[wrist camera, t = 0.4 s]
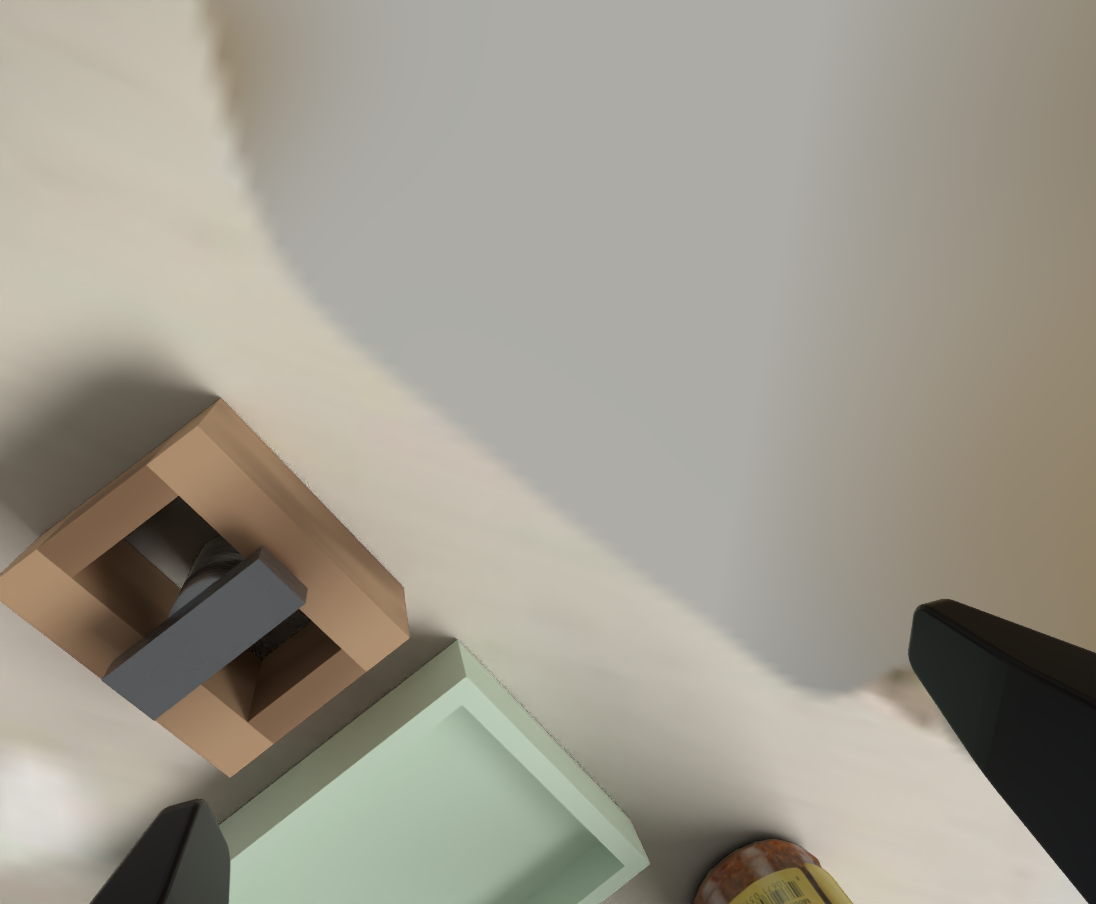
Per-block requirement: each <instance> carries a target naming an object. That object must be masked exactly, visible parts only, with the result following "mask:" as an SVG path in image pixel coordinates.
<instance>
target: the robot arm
mask: <svg viewBox="0 0 1096 904" xmlns="http://www.w3.org/2000/svg"><path fill="white" fill-rule="evenodd" d="M908 656H909V661H910V664H911V666H912V669H913V670H914V672H915V674H916V675H917V677H918V678H919V680H920V681H921V683H922V684H923V686H924V687H925V689H926V690H927V692H928V693H929V695H930V696H931V698H932V699H933V701H934V702H935V704H936V705H937V707H938V708H939V709H940V711H941V712H942V714H943V715H944V717H945V718H946V720H947V721H948V723H949V724H950V726H951V727H952V729H953V730H954V732H955V733H956V735H957V736H958V738H959V739H960V741H961V742H962V744H963V745H964V747H965V748H966V750H967V751H968V753H969V754H970V756H971V757H972V758H973V760H974V761H975V763H976V764H977V765H978V767H979V768H980V770H981V771H982V772H983V774H984V775H985V776H986V778H987V779H988V780H989V782H990V783H991V784H992V785H993V787H994V788H995V789H996V791H997V792H998V793H999V794H1000V795H1001V797H1002V798H1003V799H1004V800H1005V802H1006V803H1007V804H1008V805H1009V807H1010V808H1011V809H1012V810H1013V811H1014V813H1015V814H1016V815H1017V816H1018V818H1019V819H1020V820H1021V821H1022V823H1023V824H1024V825H1025V826H1026V827H1027V829H1028V830H1029V831H1030V832H1031V834H1032V835H1033V836H1034V837H1035V838H1036V840H1037V841H1038V842H1039V843H1040V845H1041V846H1042V847H1043V848H1044V850H1045V851H1046V852H1047V853H1048V854H1049V856H1050V857H1051V858H1052V859H1053V861H1054V862H1055V863H1056V864H1057V866H1058V867H1059V868H1060V869H1061V870H1062V872H1063V873H1064V874H1065V875H1066V877H1067V878H1068V879H1069V880H1070V881H1071V883H1072V884H1073V885H1074V886H1075V888H1076V889H1077V890H1078V891H1079V893H1080V894H1081V895H1082V896H1083V897H1084V899H1085V900H1086V901H1087V902H1088V904H1096V653H1095V652H1092V651H1089V650H1086V649H1084V648H1081V647H1078V646H1076V645H1073V644H1070V643H1068V642H1065V641H1062V640H1059V639H1057V638H1054V637H1051V636H1049V635H1046V634H1043V633H1040V632H1038V631H1035V630H1032V629H1030V628H1027V627H1024V626H1022V625H1019V624H1016V623H1013V622H1011V621H1008V620H1005V619H1003V618H1000V617H997V616H994V615H992V614H989V613H986V612H984V611H981V610H978V609H976V608H973V607H970V606H967V605H965V604H962V603H959V602H956V601H954V600H950V599H940V600H937V601H933V602H929V603H925V604H921V605H919V606H918V607H917V608H916V610H915V611H914V614H913V621H912V628H911V635H910V642H909V649H908ZM229 890H230V853H229V848H228V844H227V842H226V840H225V838H224V836H223V834H222V832H221V829H220V827H219V825H218V823H217V821H216V819H215V817H214V815H213V813H212V811H211V809H210V807H209V805H208V804H207V802H205V801H204V800H202V799H195V800H191V801H187V802H183V803H180V804H176V805H172V806H169V807H167V808H165V809H164V810H162V811H161V812H160V813H159V814H158V815H157V817H156V818H155V819H154V820H153V822H152V823H151V824H150V826H149V827H148V828H147V830H146V831H145V832H144V833H143V835H142V836H141V837H140V839H139V840H138V841H137V843H136V844H135V845H134V846H133V848H132V849H131V850H130V852H129V853H128V854H127V856H126V857H125V858H124V860H123V861H122V862H121V863H120V865H119V866H118V867H117V869H116V870H115V871H114V873H113V874H112V875H111V876H110V878H109V879H108V880H107V882H106V883H105V884H104V886H103V887H102V888H101V889H100V891H99V892H98V893H97V895H96V896H95V897H94V899H93V900H92V901H91V902H90V904H229Z"/></svg>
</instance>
